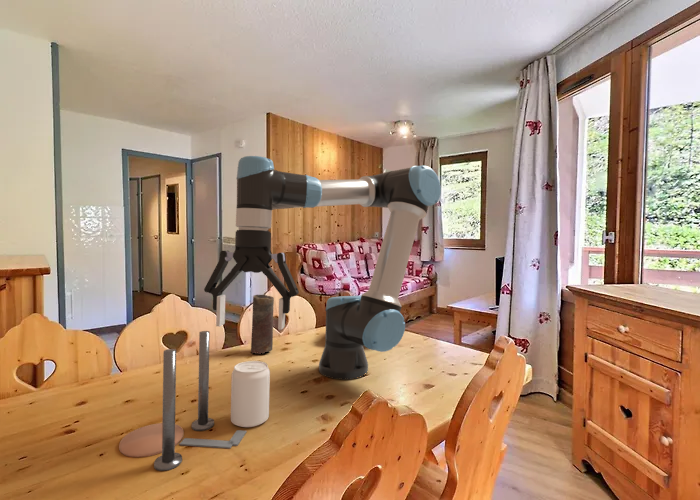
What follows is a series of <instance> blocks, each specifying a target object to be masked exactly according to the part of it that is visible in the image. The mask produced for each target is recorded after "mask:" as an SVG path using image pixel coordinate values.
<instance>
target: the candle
mask: <svg viewBox="0 0 700 500" xmlns="http://www.w3.org/2000/svg"><path fill="white" fill-rule="evenodd" d="M274 305H275V297H274V296H271V295H266V294H255V295H253V296H252V317H251V318H252V319H251V320H252V321H251V337H250V338H251V344H250V353H251V352H252V353H251V354H253V353H255V354H260V355H261V353H262V354H266V353H265V352H268V353H269V351H270V352H271V351H273V343H274V342H273V341H274Z"/></svg>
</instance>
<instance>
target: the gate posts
mask: <svg viewBox="0 0 700 500" xmlns="http://www.w3.org/2000/svg"><path fill="white" fill-rule="evenodd" d="M210 333H211V332H210V330H201V331H199V335H198V336H199V339H198V341H199V342H198V386H197V387H198V389H197V391H198V394H197V396H198V397H197V398H198V399H197V405H198V406H197V419H195V420H193V421H192V422H191V429H192V431H196V432H203V431H207V430H210V429H211V428H213V427H214V426H215V420H214V419H213V418H212V417H209V389H210V388H209V387H210V385H209V384H210V383H209V381H210V337H211V336H210V335H211V334H210ZM162 355H163V357H162V359H163V361H162V362H163V365H162V369H163V370H162V374H163V375H162V420H161V423H162V453H161V455H159V456H158V457H157V458H156V459H154V462H153V468H154V469H155V470H156V471H159V472H167V471H171V470H174V469H175V468H177V467H179V466H180V465H181V464H182V461H183V456H182V454H181V453H179V452H176V450H175V449H176V446H175V424H176V396H177V395H176V394H177V393H176V390H177V386H176V385H177V383H176V382H177V349H175V348H169V349H167V348H166V349H165V350H163V354H162Z"/></svg>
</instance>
